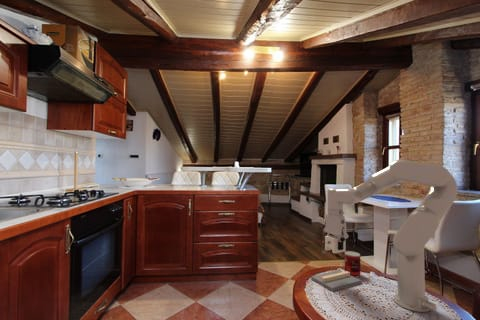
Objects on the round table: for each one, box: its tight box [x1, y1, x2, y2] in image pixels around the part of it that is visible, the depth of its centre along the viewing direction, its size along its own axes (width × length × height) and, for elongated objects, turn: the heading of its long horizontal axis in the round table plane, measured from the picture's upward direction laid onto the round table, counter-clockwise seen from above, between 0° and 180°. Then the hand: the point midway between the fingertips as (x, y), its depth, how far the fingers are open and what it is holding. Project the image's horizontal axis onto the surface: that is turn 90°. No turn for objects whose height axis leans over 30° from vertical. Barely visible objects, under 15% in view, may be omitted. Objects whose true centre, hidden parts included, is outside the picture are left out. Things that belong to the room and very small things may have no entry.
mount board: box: [310, 269, 363, 292], centre depth 121 cm, size 14×20×3 cm
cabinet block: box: [324, 235, 347, 254], centre depth 122 cm, size 6×9×7 cm
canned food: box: [344, 250, 362, 277], centre depth 131 cm, size 8×8×11 cm
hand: (335, 247), depth 122 cm, fingers closed on cabinet block, 6 cm apart
